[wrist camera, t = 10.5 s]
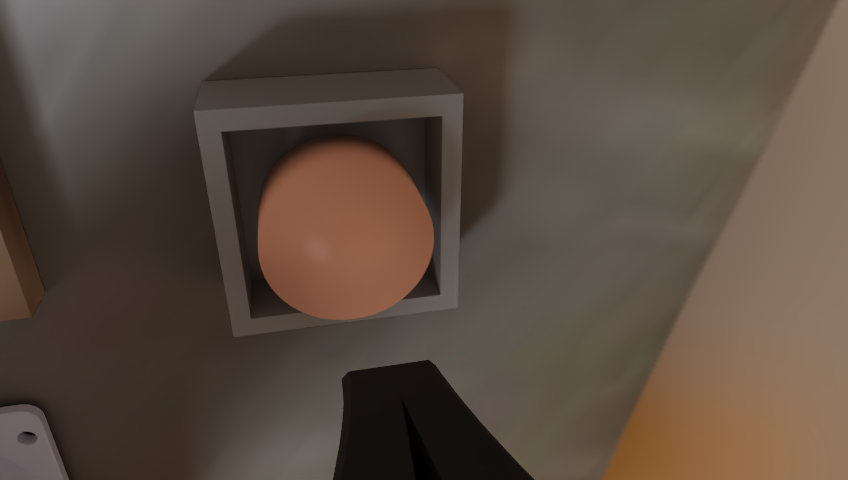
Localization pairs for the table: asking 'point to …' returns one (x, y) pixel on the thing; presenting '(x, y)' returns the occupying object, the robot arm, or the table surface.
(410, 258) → the button
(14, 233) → the board
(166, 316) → the table surface
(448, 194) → the button housing
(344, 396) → the robot arm
